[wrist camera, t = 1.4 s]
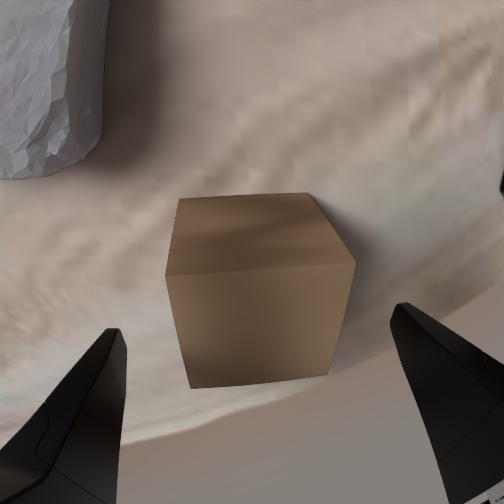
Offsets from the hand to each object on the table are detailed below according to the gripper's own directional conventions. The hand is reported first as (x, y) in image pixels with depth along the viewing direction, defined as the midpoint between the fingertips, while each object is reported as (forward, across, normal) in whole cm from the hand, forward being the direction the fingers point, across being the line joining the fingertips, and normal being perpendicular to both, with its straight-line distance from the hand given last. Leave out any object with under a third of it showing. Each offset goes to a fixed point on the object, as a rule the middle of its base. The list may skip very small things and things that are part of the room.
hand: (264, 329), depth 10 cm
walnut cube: (+5, 0, 0) cm, 5 cm away
